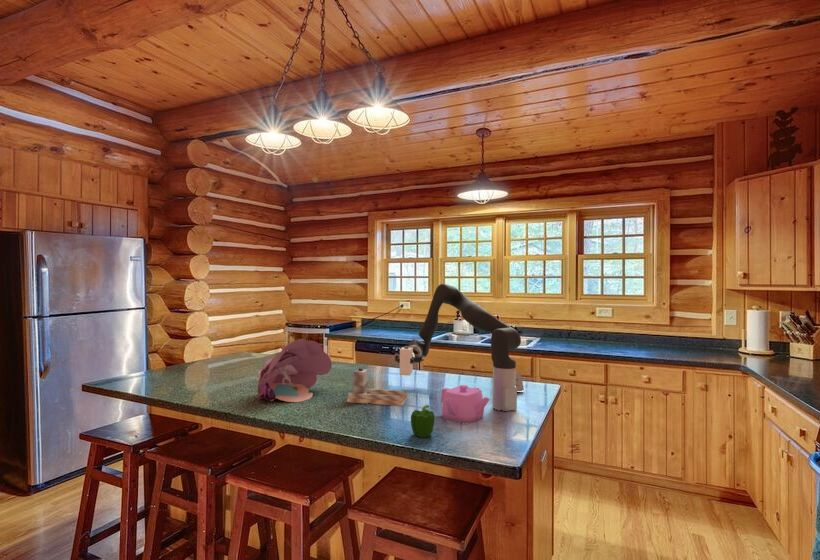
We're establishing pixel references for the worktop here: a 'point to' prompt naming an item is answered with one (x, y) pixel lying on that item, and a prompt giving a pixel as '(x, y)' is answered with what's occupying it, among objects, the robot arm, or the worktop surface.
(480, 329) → the robot arm
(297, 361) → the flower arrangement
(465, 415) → the teakettle
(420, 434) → the bell pepper
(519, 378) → the electrical switch
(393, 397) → the rail plate
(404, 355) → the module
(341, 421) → the worktop surface
